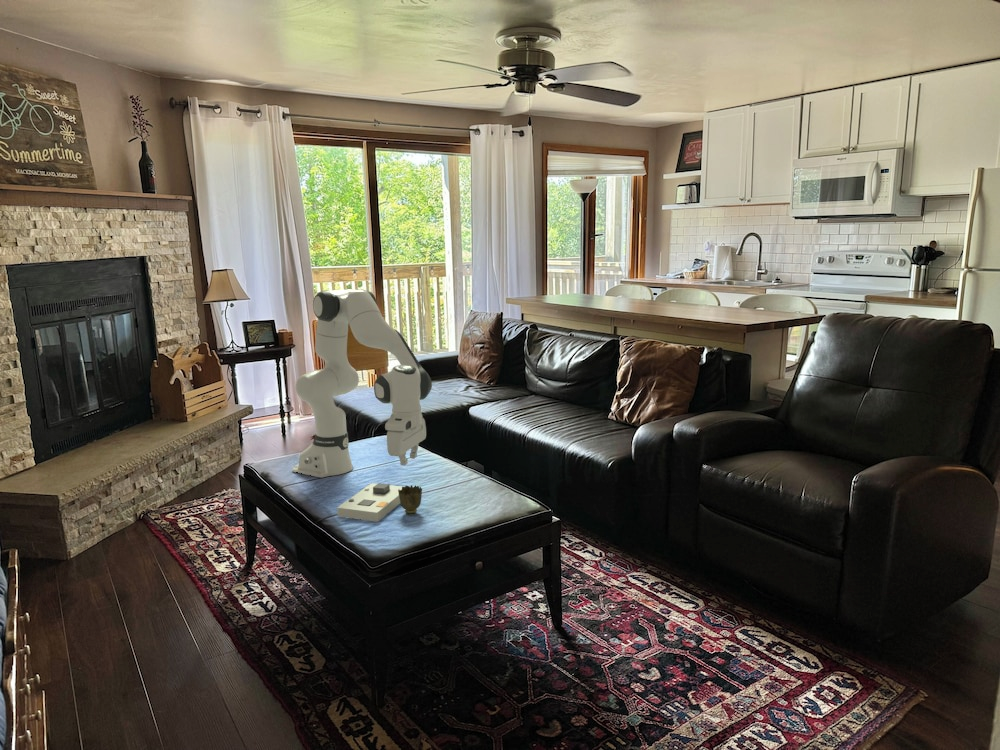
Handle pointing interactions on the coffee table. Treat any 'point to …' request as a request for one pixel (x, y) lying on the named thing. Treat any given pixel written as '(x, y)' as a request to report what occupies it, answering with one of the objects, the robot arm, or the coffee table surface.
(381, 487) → the block
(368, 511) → the panel
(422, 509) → the coffee table surface
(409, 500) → the brown textured goblet
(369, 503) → the block
